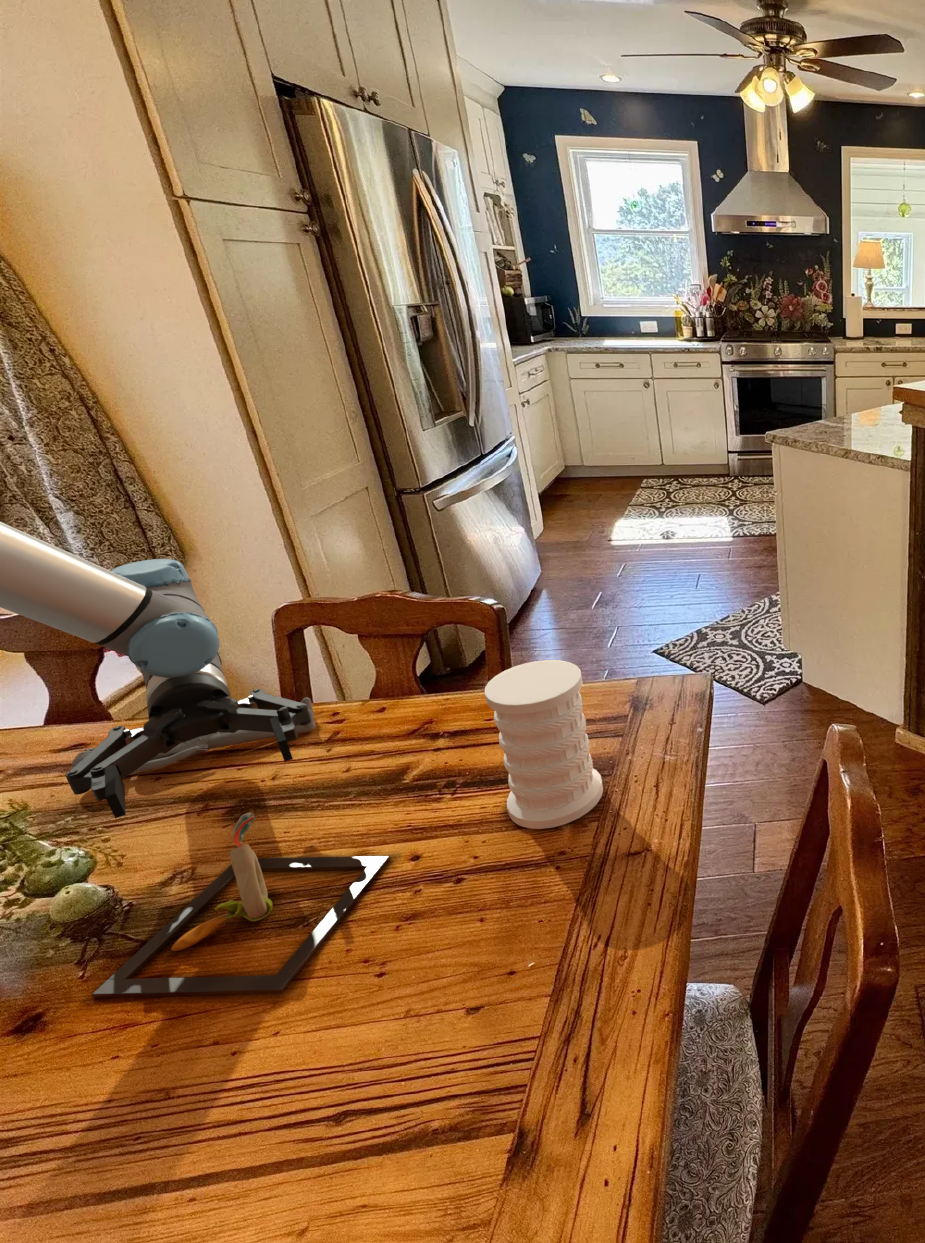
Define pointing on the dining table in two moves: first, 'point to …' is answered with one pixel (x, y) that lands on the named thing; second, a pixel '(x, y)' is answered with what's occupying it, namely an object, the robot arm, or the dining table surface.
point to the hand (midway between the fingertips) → (205, 776)
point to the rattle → (248, 885)
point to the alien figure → (209, 743)
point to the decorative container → (544, 743)
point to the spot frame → (128, 987)
